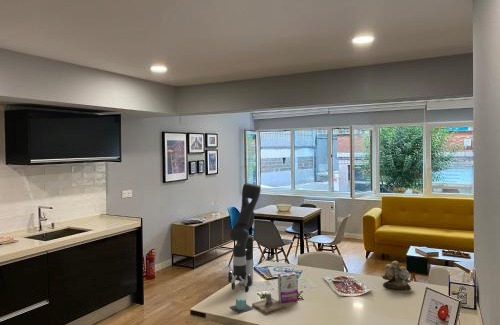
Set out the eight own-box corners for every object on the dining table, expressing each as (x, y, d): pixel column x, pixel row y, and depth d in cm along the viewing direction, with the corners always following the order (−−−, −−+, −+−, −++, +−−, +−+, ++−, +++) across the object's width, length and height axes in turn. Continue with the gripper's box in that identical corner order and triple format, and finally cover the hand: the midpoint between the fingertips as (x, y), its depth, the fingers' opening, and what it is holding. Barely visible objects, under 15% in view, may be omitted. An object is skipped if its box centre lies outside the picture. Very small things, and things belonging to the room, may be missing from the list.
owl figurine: (382, 289, 241) (382, 263, 240) (380, 283, 252) (379, 258, 252) (412, 291, 237) (412, 264, 237) (408, 284, 249) (408, 259, 248)
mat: (229, 307, 218) (229, 306, 218) (244, 303, 223) (244, 302, 223) (238, 313, 209) (238, 312, 209) (253, 309, 215) (253, 308, 215)
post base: (252, 305, 219) (252, 293, 219) (271, 300, 227) (271, 288, 227) (266, 314, 207) (266, 301, 207) (286, 308, 215) (285, 295, 215)
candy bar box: (295, 297, 230) (294, 271, 229) (298, 300, 225) (297, 274, 225) (277, 300, 227) (277, 273, 226) (280, 303, 222) (280, 276, 222)
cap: (238, 304, 220) (238, 295, 220) (248, 306, 218) (247, 297, 217) (234, 308, 215) (233, 299, 215) (243, 310, 212) (243, 300, 212)
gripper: (253, 262, 215) (253, 290, 216) (232, 259, 222) (232, 286, 223) (247, 266, 209) (247, 295, 209) (225, 263, 215) (226, 290, 216)
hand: (240, 290), depth 216 cm, fingers open, 8 cm apart
